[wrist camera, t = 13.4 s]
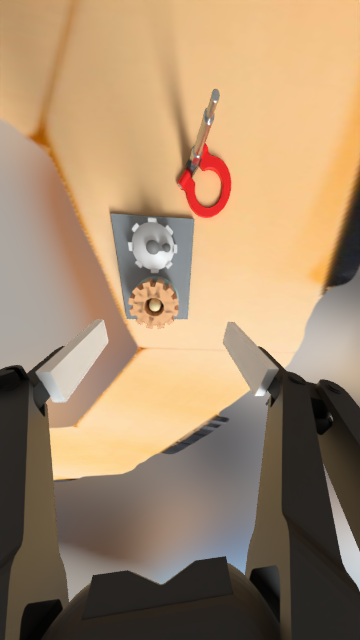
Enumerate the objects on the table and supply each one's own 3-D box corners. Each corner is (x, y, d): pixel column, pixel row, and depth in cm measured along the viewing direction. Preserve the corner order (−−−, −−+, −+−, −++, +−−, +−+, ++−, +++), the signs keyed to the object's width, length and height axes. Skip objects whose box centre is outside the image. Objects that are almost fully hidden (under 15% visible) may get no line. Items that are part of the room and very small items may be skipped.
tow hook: (237, 189, 26) (204, 139, 22) (295, 139, 14) (246, 21, 11) (206, 228, 28) (173, 189, 25) (235, 212, 17) (180, 136, 13)
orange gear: (137, 317, 34) (131, 329, 29) (133, 277, 30) (125, 281, 24) (176, 317, 35) (178, 328, 29) (177, 278, 30) (179, 282, 25)
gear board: (112, 215, 25) (93, 200, 19) (193, 220, 27) (201, 208, 20) (128, 317, 35) (118, 331, 29) (187, 317, 36) (190, 330, 30)
